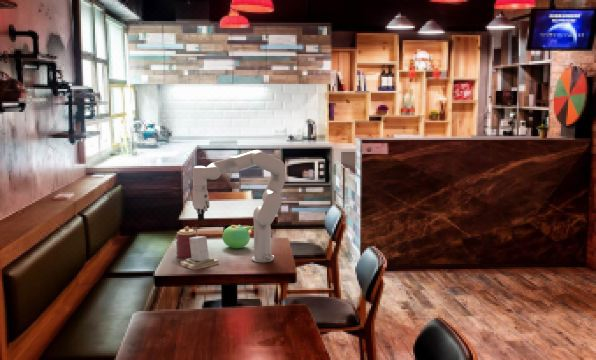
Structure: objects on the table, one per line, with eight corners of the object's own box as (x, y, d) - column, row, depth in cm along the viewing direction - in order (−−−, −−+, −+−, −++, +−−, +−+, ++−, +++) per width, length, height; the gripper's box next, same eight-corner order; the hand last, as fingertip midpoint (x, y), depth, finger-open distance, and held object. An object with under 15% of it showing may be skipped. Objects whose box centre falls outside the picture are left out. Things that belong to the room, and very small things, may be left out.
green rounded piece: (217, 247, 400) (217, 224, 397) (239, 242, 411) (238, 220, 409) (234, 252, 387) (234, 229, 384) (256, 248, 398) (256, 224, 396)
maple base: (218, 263, 364) (218, 258, 364) (194, 270, 352) (194, 264, 352) (204, 259, 373) (204, 253, 373) (180, 265, 361) (180, 259, 361)
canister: (174, 258, 374) (173, 229, 371) (178, 252, 387) (177, 224, 384) (197, 258, 374) (196, 229, 371) (199, 252, 387) (199, 224, 384)
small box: (209, 259, 362) (206, 236, 361) (200, 261, 357) (197, 238, 356) (200, 258, 367) (198, 236, 367) (191, 260, 363) (188, 237, 362)
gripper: (213, 188, 355) (214, 221, 358) (197, 185, 365) (198, 217, 368) (203, 190, 349) (204, 223, 352) (186, 187, 360) (187, 219, 363)
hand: (201, 220), depth 360 cm, fingers closed
